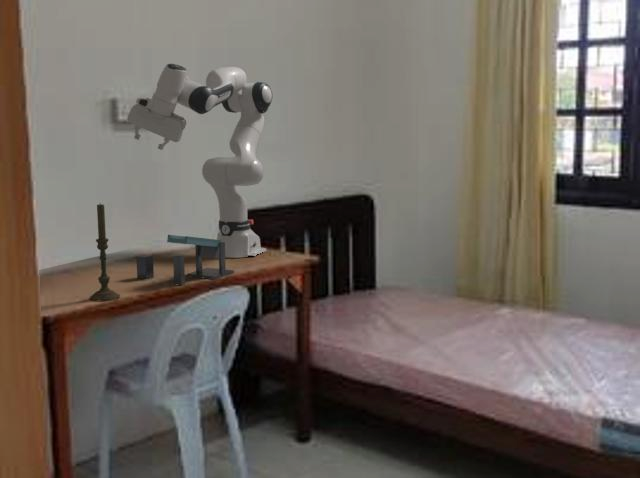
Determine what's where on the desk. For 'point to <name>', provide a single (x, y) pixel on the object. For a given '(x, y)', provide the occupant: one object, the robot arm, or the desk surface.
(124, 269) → the desk surface
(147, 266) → the block
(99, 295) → the candlestick holder
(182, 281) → the beam stand
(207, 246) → the beam
